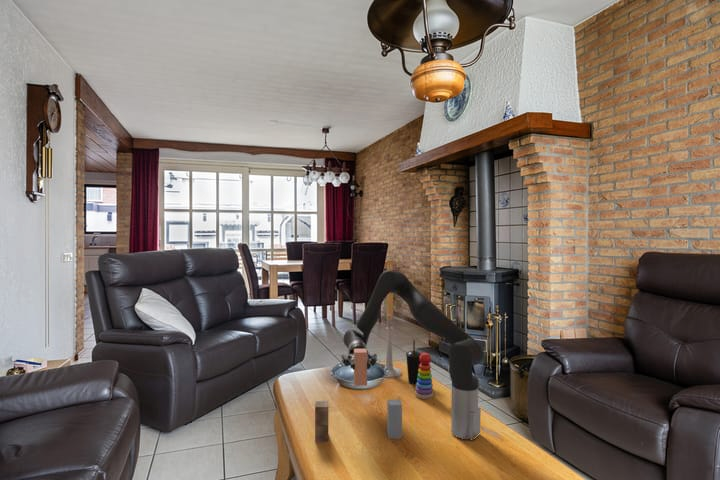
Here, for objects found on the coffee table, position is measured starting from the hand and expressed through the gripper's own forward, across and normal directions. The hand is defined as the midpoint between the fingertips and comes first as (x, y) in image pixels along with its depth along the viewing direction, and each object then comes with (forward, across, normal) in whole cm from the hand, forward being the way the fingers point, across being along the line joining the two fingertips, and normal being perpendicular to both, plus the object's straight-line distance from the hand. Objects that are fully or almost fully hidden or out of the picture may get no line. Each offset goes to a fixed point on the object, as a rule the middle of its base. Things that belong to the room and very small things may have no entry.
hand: (361, 366), depth 145 cm
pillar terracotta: (-3, 0, +7) cm, 8 cm away
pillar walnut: (+3, -14, +24) cm, 28 cm away
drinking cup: (-45, +28, +24) cm, 58 cm away
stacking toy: (-29, +30, +24) cm, 48 cm away
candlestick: (-58, +18, +24) cm, 65 cm away
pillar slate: (+3, +12, +24) cm, 27 cm away
